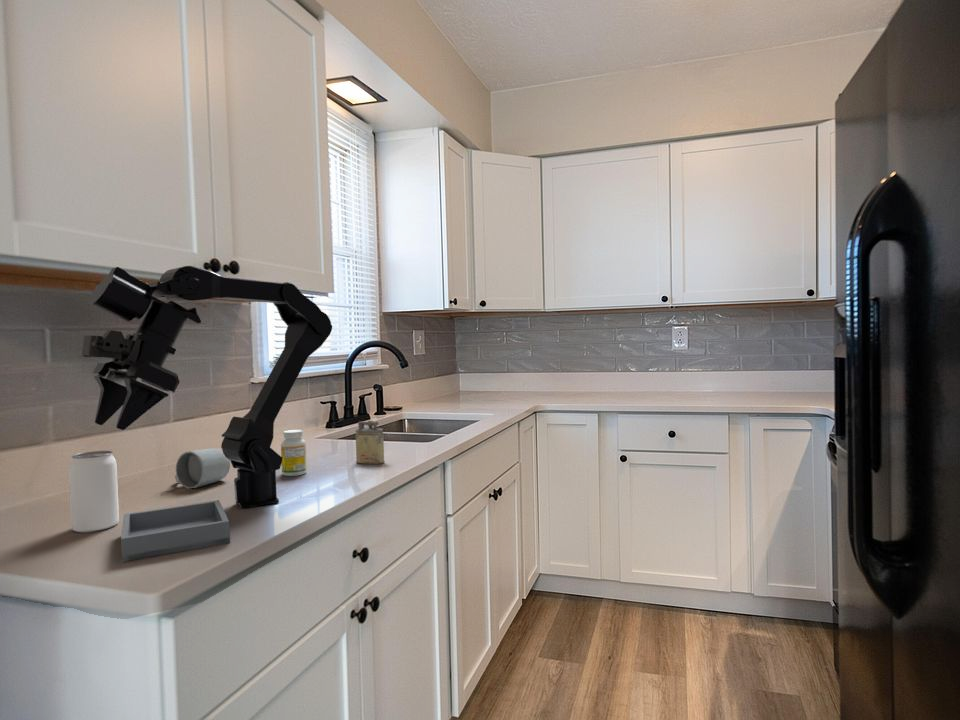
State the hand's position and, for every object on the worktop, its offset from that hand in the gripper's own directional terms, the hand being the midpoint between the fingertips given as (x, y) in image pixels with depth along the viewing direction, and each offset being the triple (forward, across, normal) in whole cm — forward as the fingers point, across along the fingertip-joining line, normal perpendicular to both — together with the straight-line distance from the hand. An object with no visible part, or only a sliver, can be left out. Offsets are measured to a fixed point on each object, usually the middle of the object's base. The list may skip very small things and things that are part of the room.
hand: (108, 426), depth 89 cm
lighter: (-12, -10, +59) cm, 61 cm away
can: (+15, -9, +8) cm, 19 cm away
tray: (+12, +8, +13) cm, 20 cm away
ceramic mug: (+4, -24, +29) cm, 38 cm away
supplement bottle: (-4, -15, +44) cm, 47 cm away
